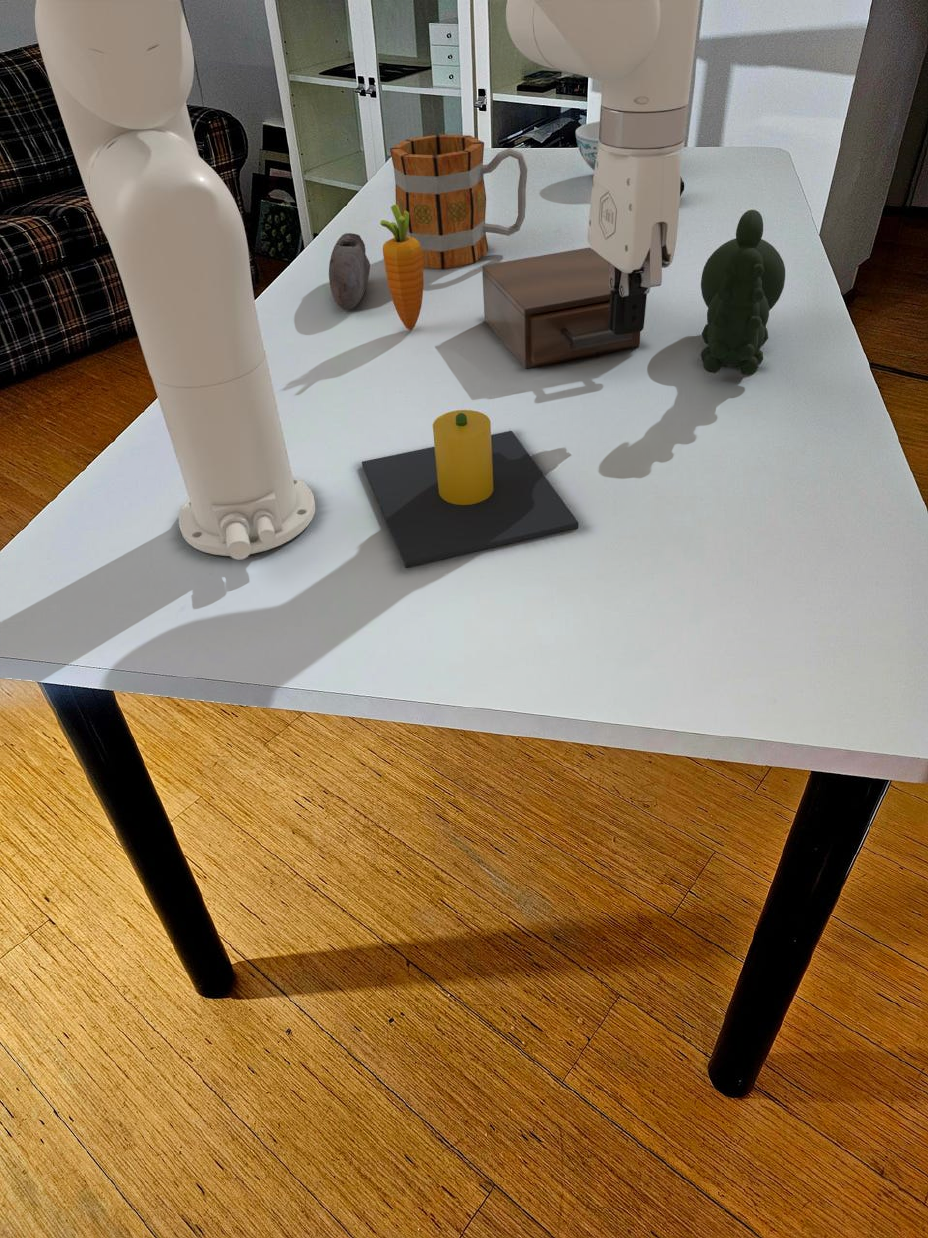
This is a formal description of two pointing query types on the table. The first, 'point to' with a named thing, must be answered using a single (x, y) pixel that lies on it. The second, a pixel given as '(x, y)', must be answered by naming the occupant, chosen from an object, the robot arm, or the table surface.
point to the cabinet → (541, 294)
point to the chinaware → (588, 142)
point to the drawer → (574, 333)
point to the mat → (453, 530)
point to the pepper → (463, 456)
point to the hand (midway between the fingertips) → (625, 329)
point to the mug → (449, 196)
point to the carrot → (404, 269)
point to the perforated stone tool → (348, 271)
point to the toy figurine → (740, 297)
